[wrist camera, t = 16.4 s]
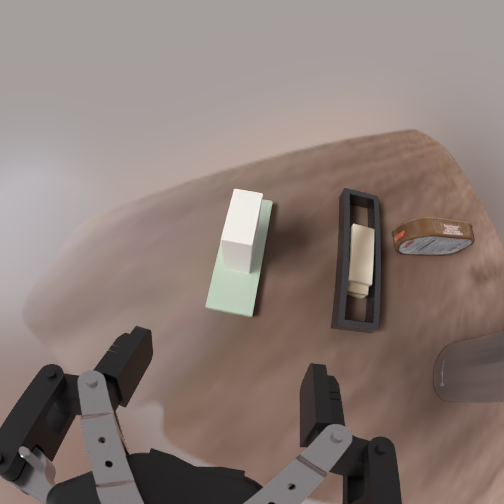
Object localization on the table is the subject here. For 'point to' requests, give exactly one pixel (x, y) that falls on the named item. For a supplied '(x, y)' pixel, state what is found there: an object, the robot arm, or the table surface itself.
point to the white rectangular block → (241, 230)
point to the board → (239, 276)
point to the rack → (343, 263)
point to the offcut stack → (360, 261)
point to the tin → (432, 236)
